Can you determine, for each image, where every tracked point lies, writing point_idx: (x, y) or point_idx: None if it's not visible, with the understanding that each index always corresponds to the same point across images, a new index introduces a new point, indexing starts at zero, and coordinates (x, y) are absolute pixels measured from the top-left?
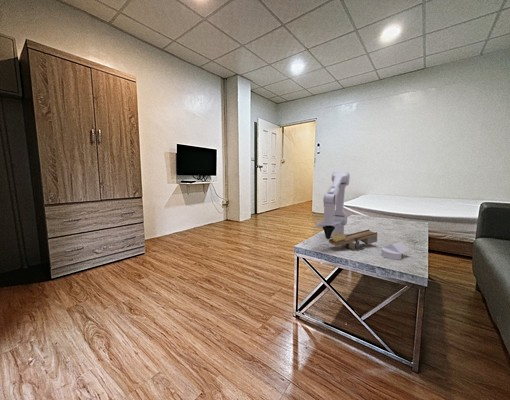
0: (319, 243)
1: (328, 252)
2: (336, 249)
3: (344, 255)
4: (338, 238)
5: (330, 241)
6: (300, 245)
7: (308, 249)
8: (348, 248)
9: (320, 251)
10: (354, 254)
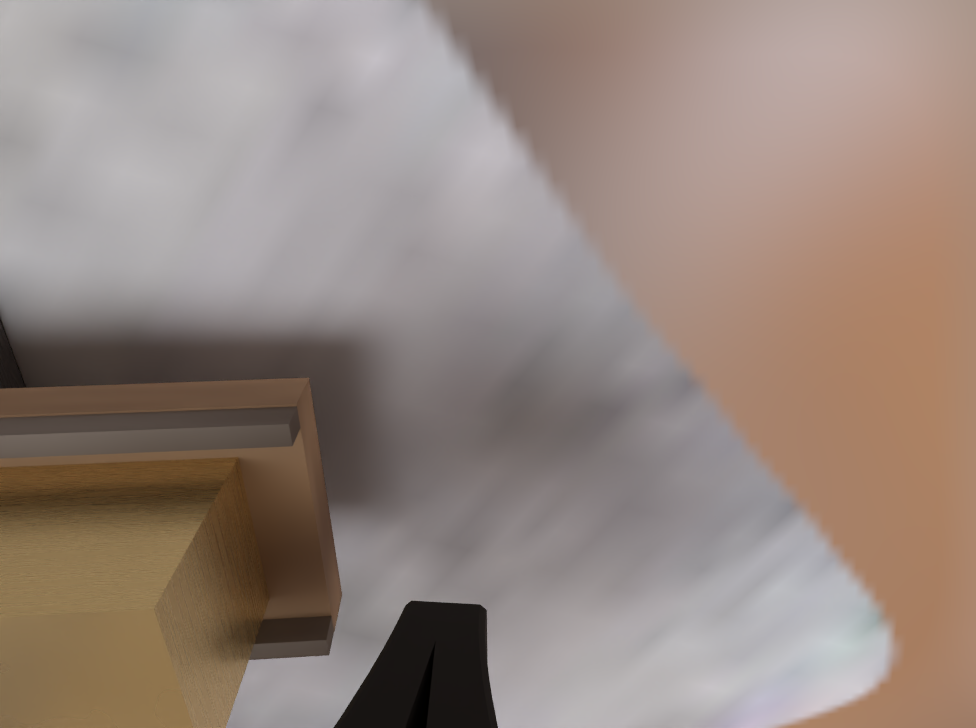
0: None
1: (529, 330)
2: None
3: (272, 85)
4: (108, 546)
5: (323, 592)
6: (813, 709)
7: (815, 551)
8: (10, 370)
9: (658, 416)
10: (6, 72)
